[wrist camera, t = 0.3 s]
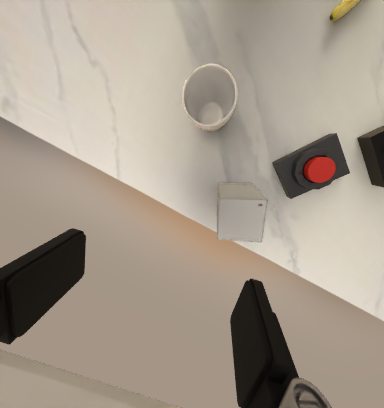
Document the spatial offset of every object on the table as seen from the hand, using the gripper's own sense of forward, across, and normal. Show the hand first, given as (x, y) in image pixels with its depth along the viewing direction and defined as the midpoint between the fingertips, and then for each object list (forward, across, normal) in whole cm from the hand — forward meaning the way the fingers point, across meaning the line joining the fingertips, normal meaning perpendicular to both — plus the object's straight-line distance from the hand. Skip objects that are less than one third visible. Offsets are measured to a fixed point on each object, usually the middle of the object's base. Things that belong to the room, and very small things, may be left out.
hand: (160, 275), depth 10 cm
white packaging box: (+31, -8, +2) cm, 32 cm away
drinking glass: (+31, +1, -13) cm, 33 cm away
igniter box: (+31, -20, -8) cm, 38 cm away
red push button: (+27, -20, -8) cm, 35 cm away
